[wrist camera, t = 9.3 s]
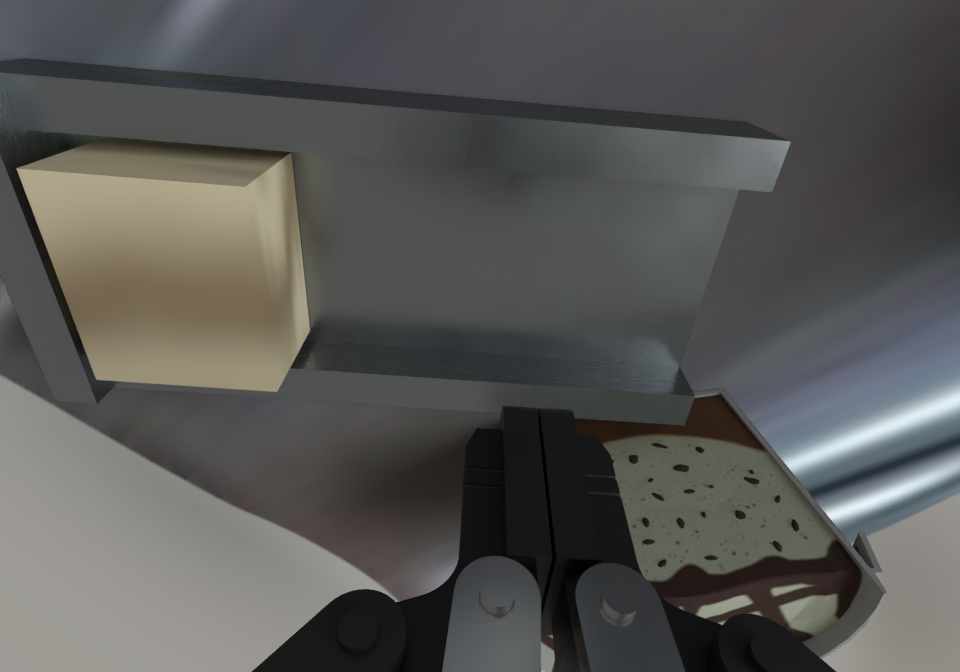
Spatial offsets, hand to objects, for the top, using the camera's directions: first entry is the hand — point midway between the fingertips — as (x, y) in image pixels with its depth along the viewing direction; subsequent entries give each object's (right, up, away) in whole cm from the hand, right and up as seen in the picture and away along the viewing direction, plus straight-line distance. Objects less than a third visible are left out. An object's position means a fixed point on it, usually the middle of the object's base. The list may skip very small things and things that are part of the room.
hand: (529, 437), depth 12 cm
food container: (+6, -3, +15) cm, 16 cm away
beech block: (-11, +6, +8) cm, 14 cm away
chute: (-4, +6, +9) cm, 11 cm away
